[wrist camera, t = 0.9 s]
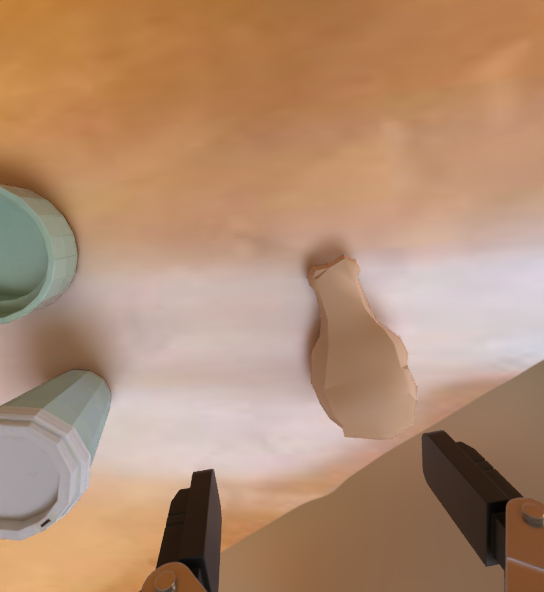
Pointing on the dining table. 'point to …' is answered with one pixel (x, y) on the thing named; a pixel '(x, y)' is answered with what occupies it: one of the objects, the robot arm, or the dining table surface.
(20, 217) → the bowl
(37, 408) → the disposable coffee cup
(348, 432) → the squash
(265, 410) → the dining table surface
